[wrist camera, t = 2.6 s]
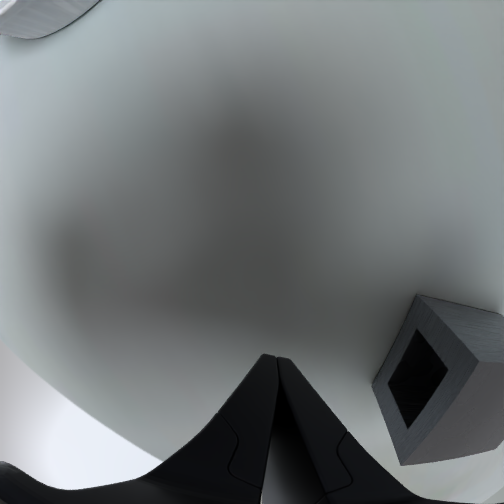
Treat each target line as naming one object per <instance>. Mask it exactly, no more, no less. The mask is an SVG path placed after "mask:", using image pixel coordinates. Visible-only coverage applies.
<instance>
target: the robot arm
mask: <svg viewBox="0 0 504 504" xmlns="http://www.w3.org/2000/svg"><path fill="white" fill-rule="evenodd" d="M261 495H262V504H473V503H458V502H447V501H439V500H431V499H426V498H422V497H420V496H417V495H415V494H414V493H412V492H410V491H409V490H408V489H407V488H405V487H404V486H403V485H402V484H401V483H400V482H399V481H398V480H396V479H395V478H394V477H393V476H392V475H391V474H390V473H389V472H388V471H386V470H385V469H384V468H383V467H382V466H381V465H380V464H379V463H378V462H377V461H376V460H375V459H374V458H373V457H372V456H371V455H370V454H369V453H368V452H367V451H366V450H365V449H364V448H363V447H362V446H361V445H360V444H359V443H358V441H357V440H356V439H355V438H354V437H353V436H352V434H351V433H350V432H349V431H347V429H346V427H345V426H344V425H343V424H342V423H341V421H340V420H339V419H338V418H337V417H336V415H335V414H334V413H333V412H332V410H331V409H330V408H329V407H328V406H327V404H326V403H325V402H324V401H323V399H322V398H321V397H320V396H319V394H318V393H317V392H316V391H315V390H314V388H313V387H312V386H311V385H310V383H309V382H308V381H307V380H306V378H305V377H304V376H303V375H302V373H301V372H300V371H299V369H298V368H297V367H296V366H295V364H294V363H293V362H292V361H291V360H290V359H288V358H283V357H277V358H276V357H275V356H273V355H268V354H262V355H261V356H260V358H259V359H258V360H257V362H256V363H255V364H254V366H253V367H252V368H251V370H250V371H249V372H248V374H247V375H246V376H245V378H244V379H243V380H242V382H241V383H240V384H239V385H238V387H237V388H236V389H235V391H234V392H233V393H232V394H231V396H230V397H229V398H228V399H227V401H226V402H225V403H224V405H223V406H222V407H221V408H220V410H219V411H218V413H216V414H215V415H214V417H213V418H212V419H211V420H210V421H209V423H208V424H207V425H206V426H205V427H204V428H203V429H202V430H201V431H200V432H199V433H198V434H197V435H196V436H195V437H194V438H193V439H191V440H190V441H189V442H188V443H187V444H186V445H184V446H183V447H182V448H181V449H179V450H178V451H177V452H176V453H174V454H173V455H172V456H170V457H169V458H168V459H167V460H165V461H164V462H163V463H161V464H160V465H159V466H157V467H156V468H155V469H153V470H152V471H150V472H148V473H147V474H145V475H143V476H141V477H139V478H136V479H133V480H129V481H125V482H119V483H114V484H110V485H104V486H98V487H92V488H86V489H78V490H64V489H57V488H54V487H50V486H47V485H45V484H43V483H41V482H39V481H37V480H36V479H34V478H32V477H31V476H29V475H28V474H26V473H25V472H23V471H22V470H20V469H18V468H16V467H15V466H13V465H11V464H9V463H6V462H4V461H0V504H260V502H261ZM497 504H504V503H497Z"/></svg>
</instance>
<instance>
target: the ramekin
mask: <svg viewBox="0 0 504 504" xmlns="http://www.w3.org/2000/svg"><path fill="white" fill-rule="evenodd" d="M98 1H99V0H0V34H2V35H8V36H13V37H17V38H24V39H36V38H41V37H44V36H46V35H49V34H51V33H54V32H56V31H57V30H59V29H61V28H63V27H65V26H66V25H68V24H70V23H71V22H73V21H74V20H75V19H77V18H78V17H79V16H81V15H82V14H83V13H85V12H86V11H87V10H89V9H90V8H91V7H92V6H93V5H94V4H96V3H97V2H98Z"/></svg>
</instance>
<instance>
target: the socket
mask: <svg viewBox="0 0 504 504" xmlns="http://www.w3.org/2000/svg"><path fill="white" fill-rule="evenodd" d="M372 389H373V391H374V394H375V396H376V399H377V402H378V404H379V407H380V409H381V412H382V415H383V417H384V420H385V423H386V426H387V428H388V431H389V434H390V437H391V439H392V442H393V445H394V448H395V451H396V454H397V457H398V459H399V462H400V465H401V466H405V465H414V464H423V463H430V462H437V461H443V460H449V459H455V458H460V457H465V456H469V455H474V454H478V453H482V452H486V451H490V450H494V449H496V448H497V447H498V446H499V445H500V443H501V442H502V441H503V440H504V317H503V316H502V315H501V314H497V313H493V312H488V311H484V310H480V309H476V308H472V307H468V306H463V305H459V304H455V303H451V302H447V301H443V300H438V299H434V298H430V297H426V296H422V295H418V294H417V295H416V297H415V300H414V302H413V304H412V307H411V309H410V311H409V313H408V316H407V318H406V320H405V322H404V324H403V326H402V329H401V331H400V333H399V335H398V337H397V339H396V341H395V343H394V345H393V347H392V349H391V351H390V353H389V355H388V357H387V359H386V361H385V362H384V364H383V366H382V368H381V370H380V372H379V373H378V375H377V377H376V379H375V381H374V382H373V384H372Z"/></svg>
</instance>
